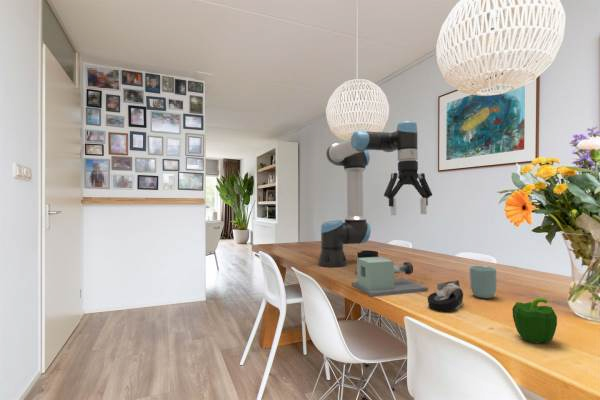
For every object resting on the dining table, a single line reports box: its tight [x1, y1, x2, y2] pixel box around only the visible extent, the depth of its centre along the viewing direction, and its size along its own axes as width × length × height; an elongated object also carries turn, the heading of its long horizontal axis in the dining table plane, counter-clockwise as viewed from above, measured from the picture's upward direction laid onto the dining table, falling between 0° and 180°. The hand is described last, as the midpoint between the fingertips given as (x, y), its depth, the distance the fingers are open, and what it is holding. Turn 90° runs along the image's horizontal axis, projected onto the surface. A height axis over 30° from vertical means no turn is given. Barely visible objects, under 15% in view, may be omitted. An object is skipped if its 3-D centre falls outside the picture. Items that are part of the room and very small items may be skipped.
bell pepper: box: [511, 297, 558, 344], centre depth 73 cm, size 8×8×10 cm
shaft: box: [394, 261, 414, 275], centre depth 120 cm, size 5×16×5 cm, turn 105°
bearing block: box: [351, 256, 429, 297], centre depth 119 cm, size 16×23×11 cm
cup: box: [469, 265, 498, 300], centre depth 106 cm, size 8×8×10 cm
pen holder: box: [357, 249, 379, 258], centre depth 144 cm, size 9×9×10 cm
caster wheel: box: [427, 279, 464, 313], centre depth 96 cm, size 7×11×10 cm
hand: (408, 214), depth 123 cm, fingers open, 13 cm apart
